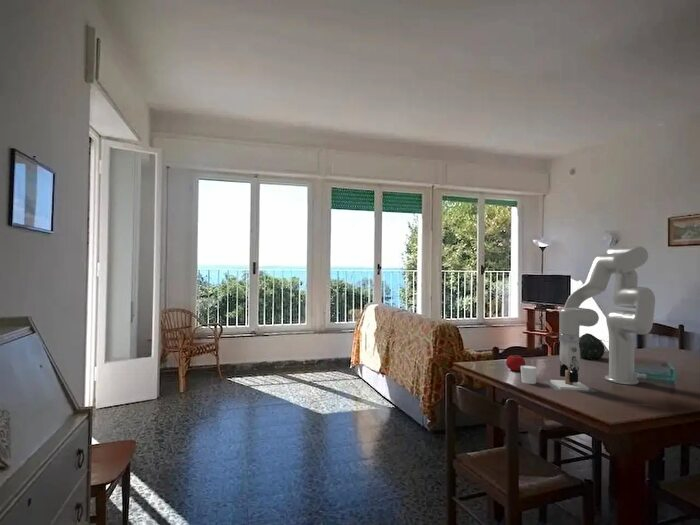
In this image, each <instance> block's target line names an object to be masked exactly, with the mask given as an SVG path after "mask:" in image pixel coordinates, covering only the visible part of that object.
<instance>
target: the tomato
mask: <svg viewBox="0 0 700 525" xmlns="http://www.w3.org/2000/svg"><path fill="white" fill-rule="evenodd" d="M505 364H506V367H507V368H508V369H509V370H511V371H513V372H521V367H520V366H523V365H526V361H525V359H524V358H523V357H522V356H521V355H518V354H516V353H515V354H512V355H511V354H510V355H509V356H507V358H506V361H505Z"/></svg>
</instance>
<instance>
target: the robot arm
mask: <svg viewBox="0 0 700 525" xmlns="http://www.w3.org/2000/svg"><path fill="white" fill-rule="evenodd" d="M648 259H649V251H648V250H647V249H646V248H645V247H643V246H640V245H630V246H614V247H610V248H608V249H606V251H605V253H603V254H598V255H596V256H595V257H594V258H593V260H592V262H591V264H590V267H589V270H588V273H587V275H586V277H585V280H584V282H583V283H582V285H581V286H579V287H578V288H577V289H575V290H574V291H573V292H572V293H571V294H570V295H569V296H568V298H567V300H566V301H565V304H564V306H563V308H561V309H560V310H559V316H558V317H559V318H558V319H559V320H558V321H559V322H558V323H559V329H558V330H559V331H558V334H559V335H558V337H559V338H558V341H559V342H560V343H559V355H558V356H559V376H560V377H564V378H565V370H570V372H569V382H574V383H578V382H579V372H580V371H579V370H580V367H581V356H580V348H579V337H580V327H594V326H596V325H597V324H598V322H599V319H600V316H599V314H598V312H597V311H595V310H594V309H591V308H584V307H581V305H582V303H584V302H585V301H587V300H588V299H591V298H593V297H596V296H598V295H601V294H603V293H604V292H605V291H606V289H607V287H608V285H609V282H610V278H611V276H612V275H614V279H615V280H614V286H613V296H612V300H613V304H614V305H616V306H617V307H621V308H626V309H627V308H628V309H635V311H634V310H624V309H614V310H611V311H609V313H608V314H607V315H606V319H605V320H606V326H607V330H608V331H607V332H608V374H606V375H605V376H604V379H605V380H606V381H607V382H611V383H615V384H621V385H638V384H639V379H647V374H646V373H639V372H636V371H635V340H634V337H633V336H632V334H635V335H647V334H649V333H650V332H651V330H652V328H653V326H654V325H653V323H654V316H655V310H656V309H655V308H656V296H655V293H654V292H653V290H652V289H650V288H649V287H645V286H638V281H639V280H638V279H639V277H638V273H637V270H636V269H638V268H640V267H642V266H644V265H645V264H646V263H647V261H648Z"/></svg>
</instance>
